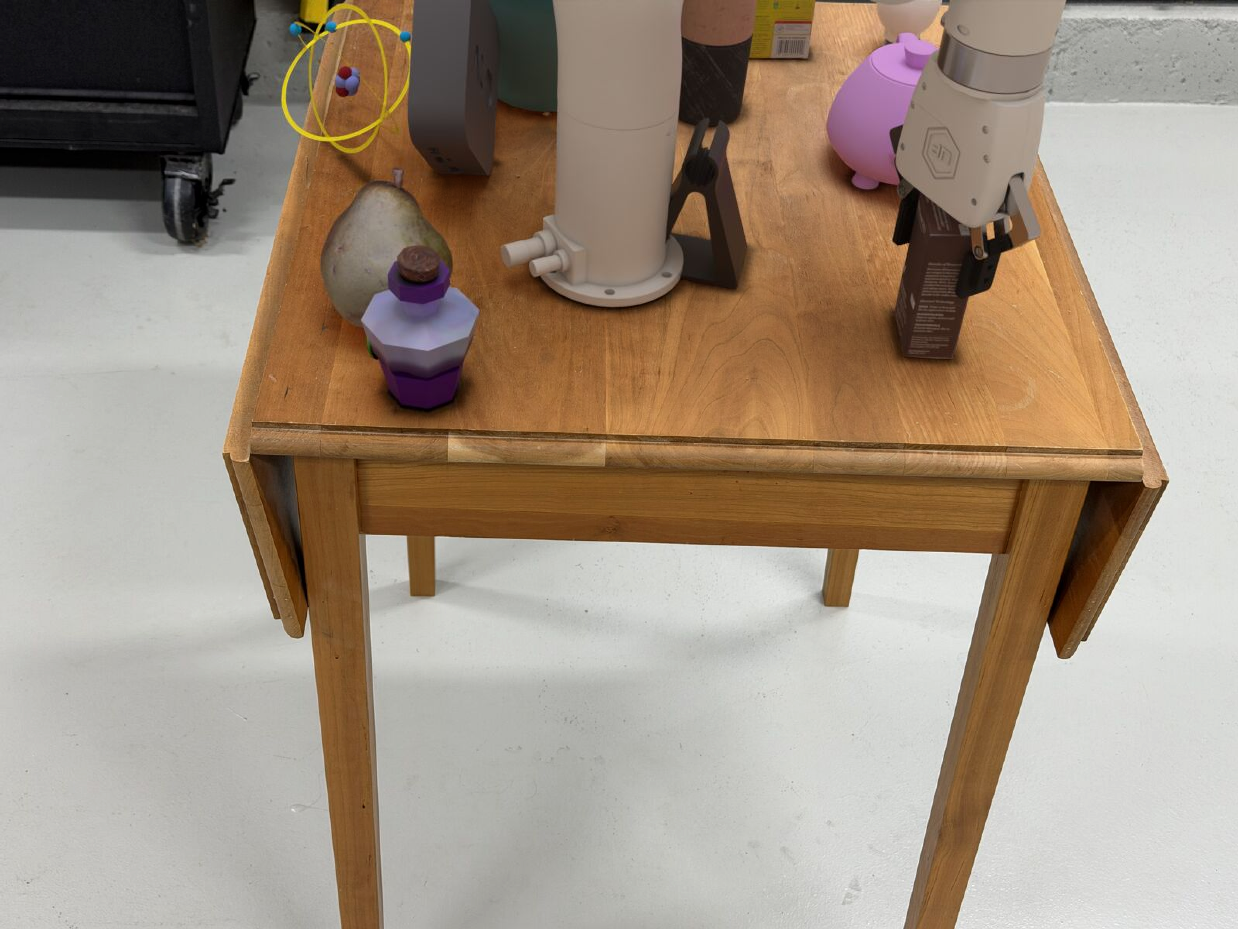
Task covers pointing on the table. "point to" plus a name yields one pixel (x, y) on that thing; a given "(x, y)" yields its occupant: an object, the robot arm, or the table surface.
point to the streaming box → (454, 85)
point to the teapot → (876, 108)
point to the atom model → (345, 77)
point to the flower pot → (527, 54)
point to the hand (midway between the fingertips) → (940, 264)
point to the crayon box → (782, 29)
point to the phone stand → (709, 211)
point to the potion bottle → (420, 331)
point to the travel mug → (714, 58)
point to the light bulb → (907, 18)
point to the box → (932, 284)
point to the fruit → (374, 244)
